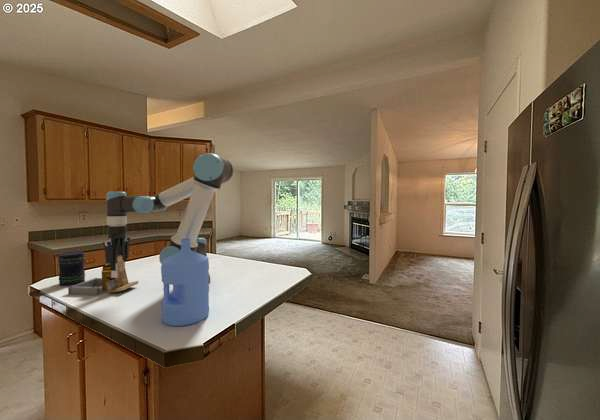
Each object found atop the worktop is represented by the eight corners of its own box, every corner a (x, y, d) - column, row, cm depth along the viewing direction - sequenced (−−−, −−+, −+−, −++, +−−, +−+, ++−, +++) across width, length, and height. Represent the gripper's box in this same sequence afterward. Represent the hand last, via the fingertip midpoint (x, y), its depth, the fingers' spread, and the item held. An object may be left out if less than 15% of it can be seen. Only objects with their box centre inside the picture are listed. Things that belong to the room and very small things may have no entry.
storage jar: (54, 284, 126) (53, 254, 126) (77, 279, 135) (77, 250, 135) (66, 287, 123) (65, 256, 122) (89, 281, 132) (89, 252, 131)
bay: (121, 284, 127) (121, 278, 127) (97, 295, 113) (96, 288, 113) (95, 283, 128) (95, 277, 128) (68, 294, 114) (68, 287, 114)
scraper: (138, 283, 124) (131, 252, 124) (122, 290, 114) (114, 256, 114) (125, 286, 125) (117, 255, 124) (108, 293, 115) (100, 260, 114)
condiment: (115, 290, 119) (115, 264, 118) (93, 292, 116) (93, 266, 116) (121, 285, 126) (120, 261, 125) (100, 287, 123) (100, 262, 123)
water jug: (200, 304, 104) (199, 235, 103) (216, 318, 92) (215, 239, 91) (156, 315, 94) (155, 238, 93) (168, 332, 82) (167, 244, 81)
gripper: (122, 223, 127) (123, 271, 128) (94, 227, 111) (95, 281, 112) (137, 223, 126) (138, 271, 127) (110, 227, 110) (111, 281, 111)
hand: (118, 276), depth 119 cm, fingers closed on scraper, 3 cm apart
